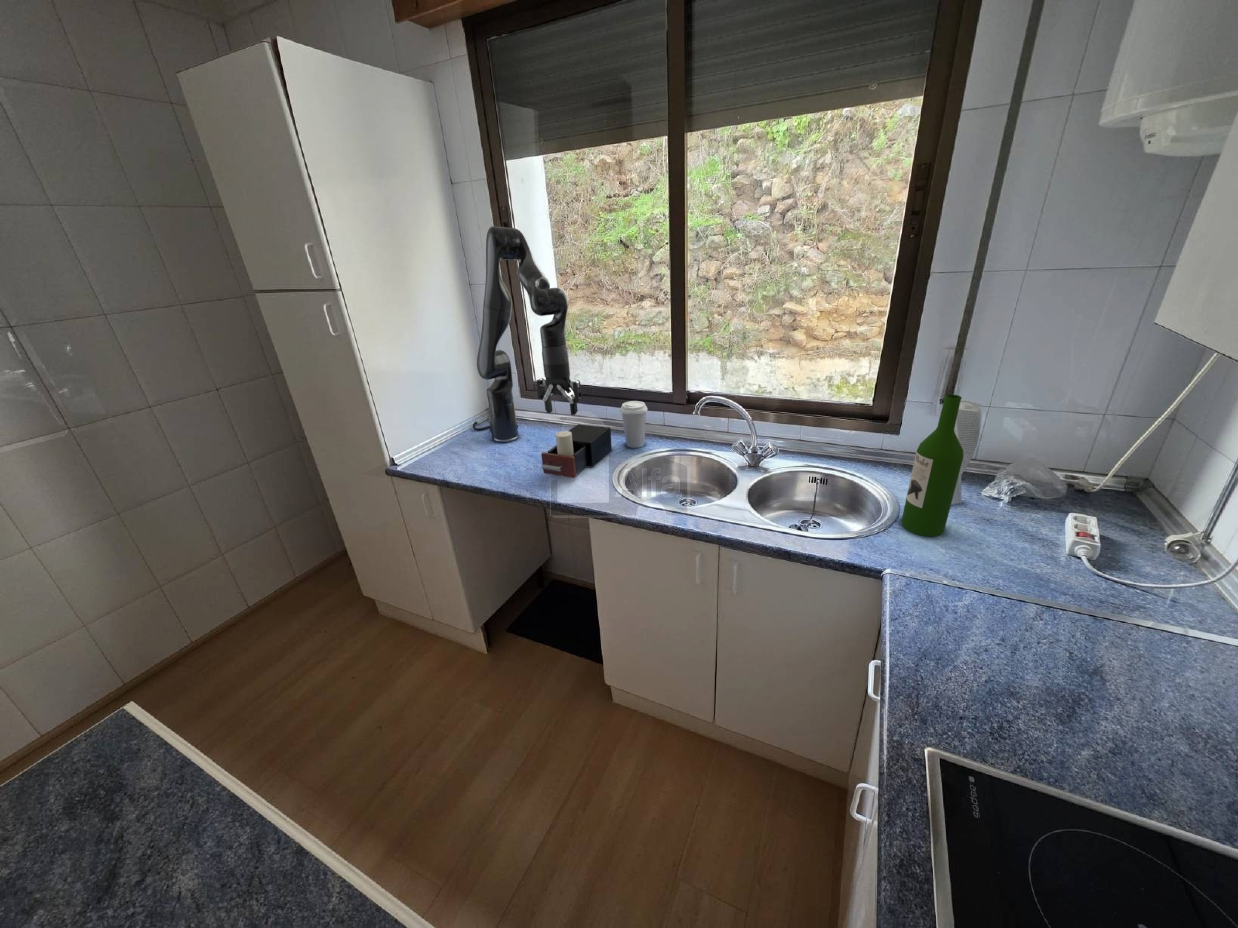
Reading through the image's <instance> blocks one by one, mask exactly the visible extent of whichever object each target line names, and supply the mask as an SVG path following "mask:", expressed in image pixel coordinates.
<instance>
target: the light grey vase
mask: <svg viewBox="0 0 1238 928" xmlns="http://www.w3.org/2000/svg"><path fill="white" fill-rule="evenodd" d="M981 407H982V405H981V403H979V402H977V401H971V400H966V399H962V398H961V401H960V405H959V410H958V414H957V419H956V423H955V428H954V431H955V434H956V436H957V438H958V440H959V442H960V444H961V447H962V449H963V461H962V464H961V468H960V472H959V476H958V480H957V483H956V487H955V491H954V495H953V499H952V503H951V506H953V505H957V504H962V500H963V499H962V475H963V474H964V471H965V470H966V469H967V467H968V466H969V464H970V462H971V461H972V459H973V456H974V454H975V453H976V449H977V447H978V443H979V440H980V435H981V426H982V410H981Z"/></svg>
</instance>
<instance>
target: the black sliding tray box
mask: <svg viewBox="0 0 1238 928" xmlns="http://www.w3.org/2000/svg"><path fill="white" fill-rule="evenodd" d="M568 431H569V432H571V433H572V442H573V443H579V444H586V445H589V453H590V463H589V464H588V465H586V466H585V467H589V468H593V467H595V466H596V465H597V464H598V463H600V461H602V460H603V459H605V457H606V456H608V455H609V454H610V453H611V452H612V450H613V447H612V434H611V433H612V432H611V427H607V426H599V425H590V424H581V423H580V424H579V423H578V424H576V425H575V426H573V427H572V428H571V429H569V430H568Z"/></svg>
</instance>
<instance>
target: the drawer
mask: <svg viewBox="0 0 1238 928" xmlns="http://www.w3.org/2000/svg"><path fill="white" fill-rule="evenodd" d="M573 452H574V454H573V456H566V455H559V454H558V451H557V444H556V445H554V446H553V447H551V448H550V449H549V450H547V452H544V451H543V452H541V453H540V455H541V461H542V462H541V464H542V465H541V468H542V470H543V474H546V475H553V476H559V477H565V478H571V479H576V478H577V477H578V476H577V474H578V473H580V471H582V470H583V469H584V468H585V467H587V466H586V465H588V464H589V463H590V453H589V445H586V444H579V443H573Z"/></svg>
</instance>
